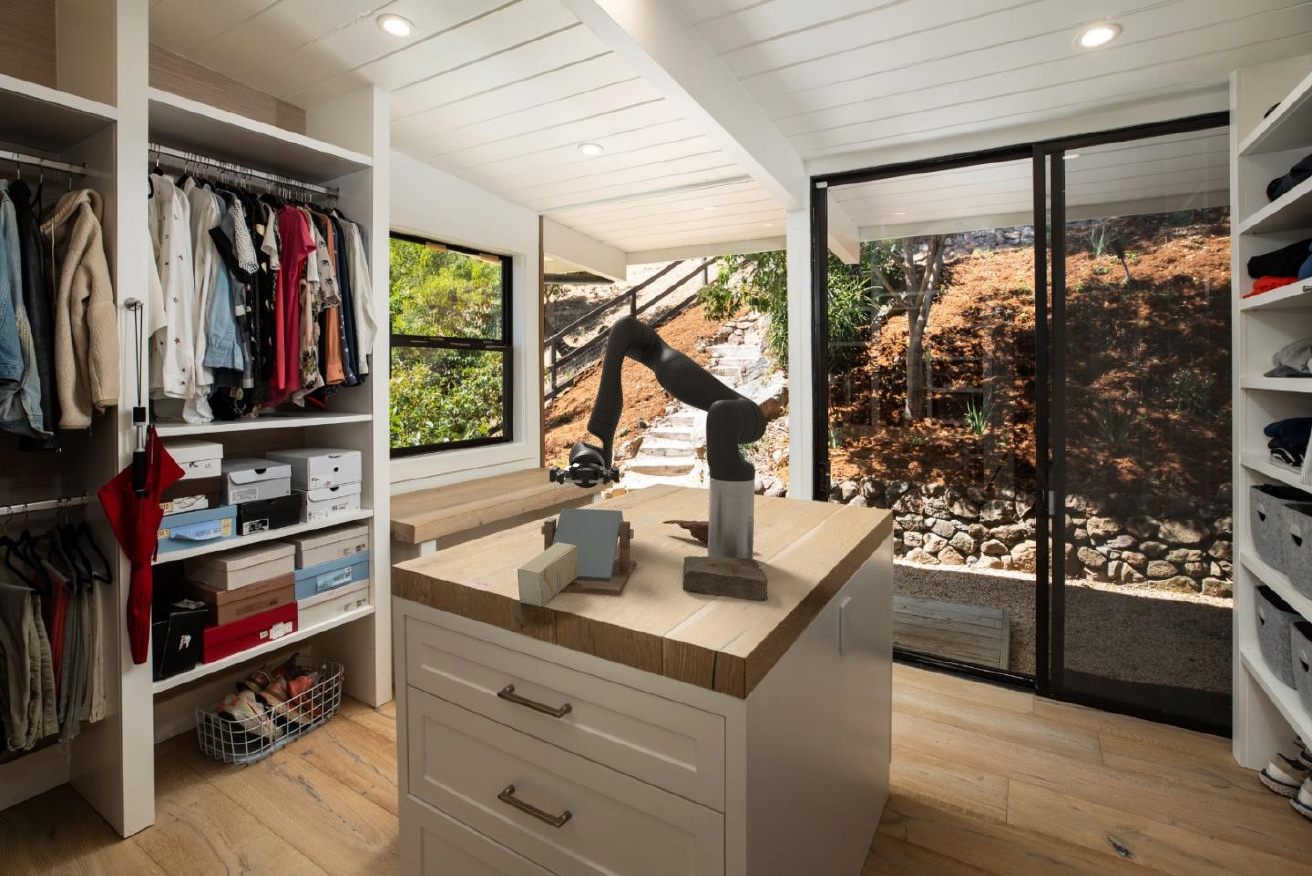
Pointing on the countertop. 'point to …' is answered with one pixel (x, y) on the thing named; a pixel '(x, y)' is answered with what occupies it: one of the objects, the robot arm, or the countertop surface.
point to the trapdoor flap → (591, 539)
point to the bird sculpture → (694, 528)
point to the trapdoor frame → (620, 568)
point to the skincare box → (547, 574)
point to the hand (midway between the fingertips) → (583, 479)
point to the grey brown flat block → (725, 577)
